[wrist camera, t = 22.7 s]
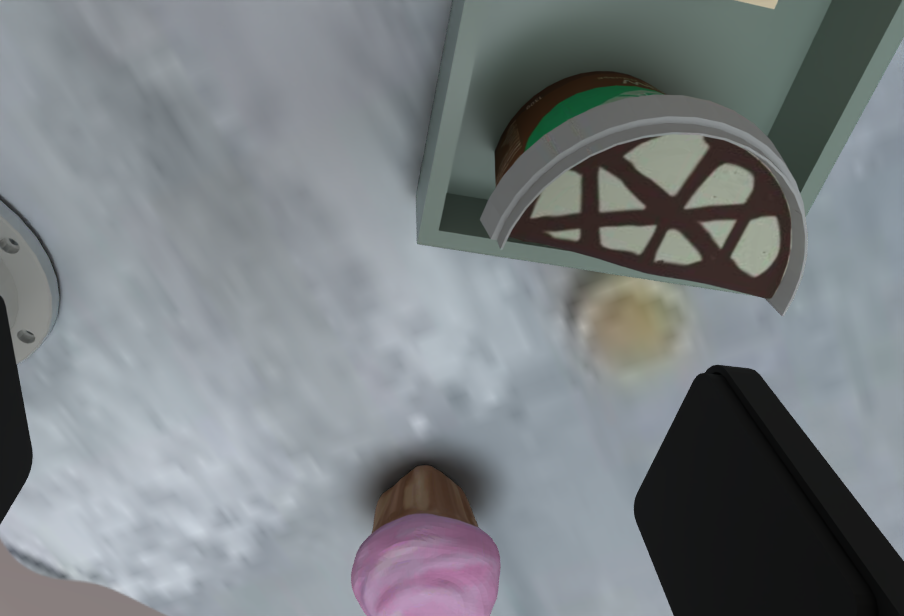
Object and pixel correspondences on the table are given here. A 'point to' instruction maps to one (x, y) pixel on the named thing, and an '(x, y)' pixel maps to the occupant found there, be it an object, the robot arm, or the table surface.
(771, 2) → the maple block
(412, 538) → the cupcake
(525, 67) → the tote
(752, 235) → the food container
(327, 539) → the table surface
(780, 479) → the robot arm
